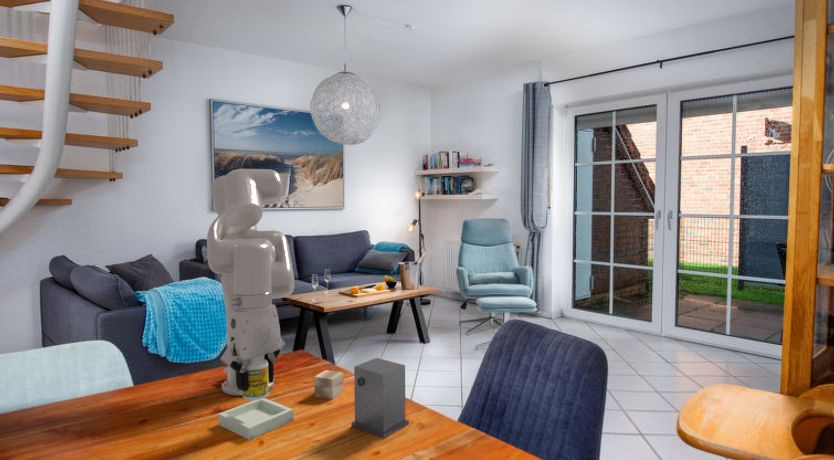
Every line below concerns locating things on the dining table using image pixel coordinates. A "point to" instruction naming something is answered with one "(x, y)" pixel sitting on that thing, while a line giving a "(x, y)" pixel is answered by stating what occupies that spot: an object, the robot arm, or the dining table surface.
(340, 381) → the beech block
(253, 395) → the supplement bottle
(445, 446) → the dining table surface
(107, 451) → the dining table surface
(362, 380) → the tabletop unit
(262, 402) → the tray
